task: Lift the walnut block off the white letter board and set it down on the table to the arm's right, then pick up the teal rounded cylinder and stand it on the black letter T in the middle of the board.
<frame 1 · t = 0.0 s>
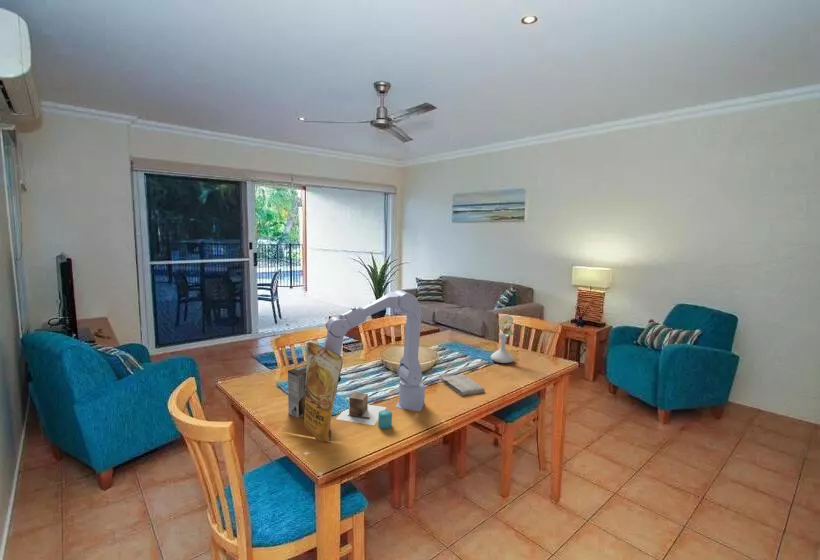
hand: (325, 391, 138), 11 cm above the table, tool pointing down, fingers open, 7 cm apart
teal rounded cylinder: (384, 427, 137), on the table
coffee box: (303, 412, 145), on the table
walnut block: (358, 411, 146), point 1 cm above the table, touching letter mat
washcloth: (461, 387, 174), on the table
flower in vase: (502, 362, 206), on the table
pancake mix bag: (319, 431, 133), on the table
letter mat: (361, 414, 146), on the table
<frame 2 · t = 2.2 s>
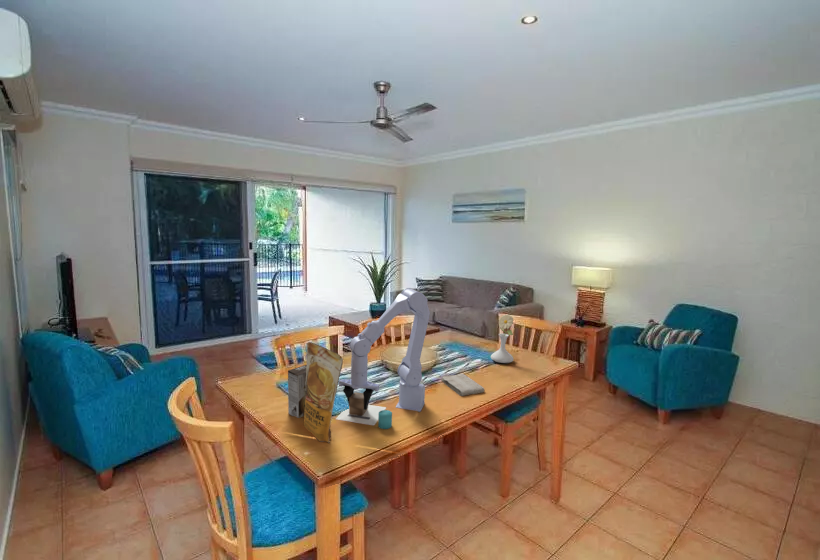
hand: (358, 407, 146), 2 cm above the table, tool pointing down, fingers closed on walnut block, 5 cm apart
walnut block: (358, 411, 146), point 1 cm above the table, touching gripper, letter mat
everything else where it was.
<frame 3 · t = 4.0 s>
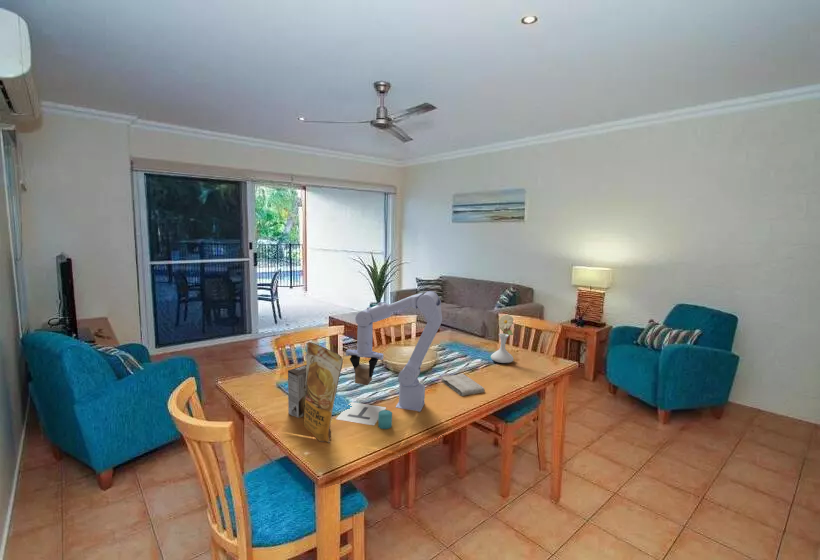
hand: (364, 375, 157), 9 cm above the table, tool pointing down, fingers closed on walnut block, 5 cm apart
walnut block: (363, 381, 157), point 7 cm above the table, touching gripper
everything else where it was.
when the fingers open (3 cm above the table, at t = 5.7 s): walnut block stays where it is, on the table.
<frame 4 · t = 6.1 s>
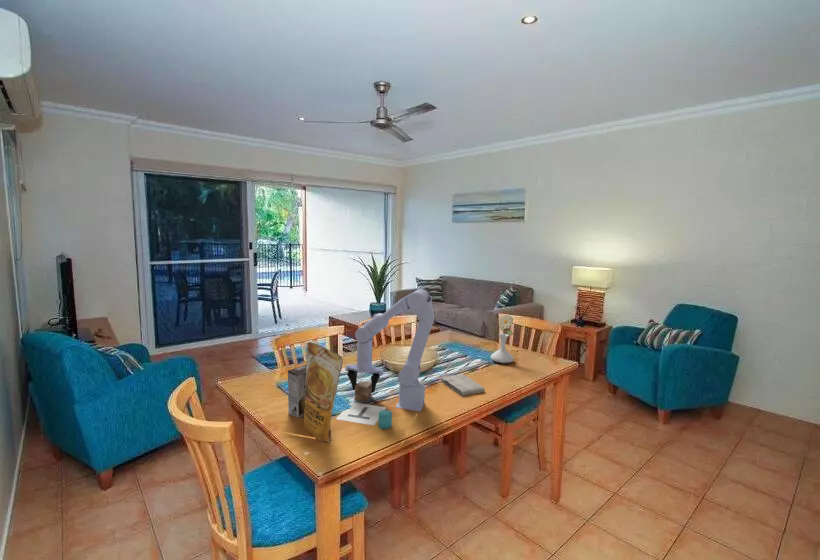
hand: (363, 390, 158), 3 cm above the table, tool pointing down, fingers open, 7 cm apart
walnut block: (363, 399, 158), on the table
everything else where it was.
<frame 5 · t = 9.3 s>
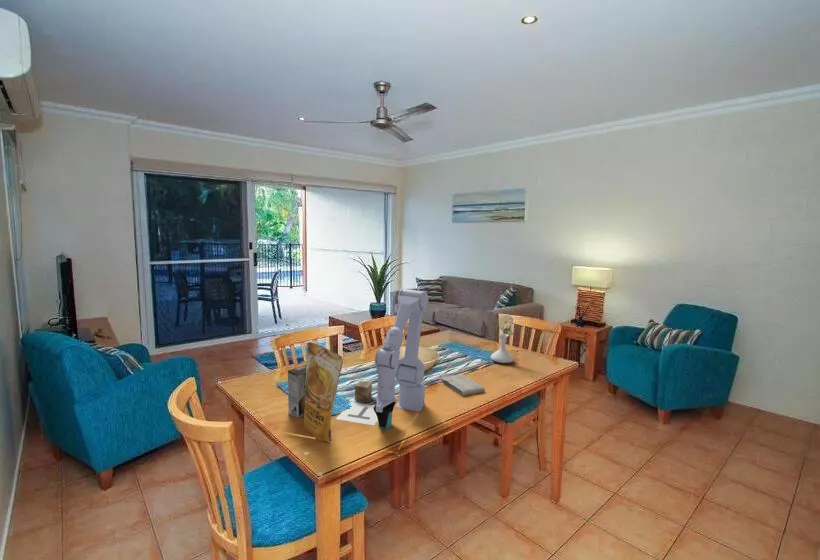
hand: (385, 423, 137), 1 cm above the table, tool pointing down, fingers closed on teal rounded cylinder, 4 cm apart
teal rounded cylinder: (384, 427, 137), on the table, touching gripper
everything else where it was.
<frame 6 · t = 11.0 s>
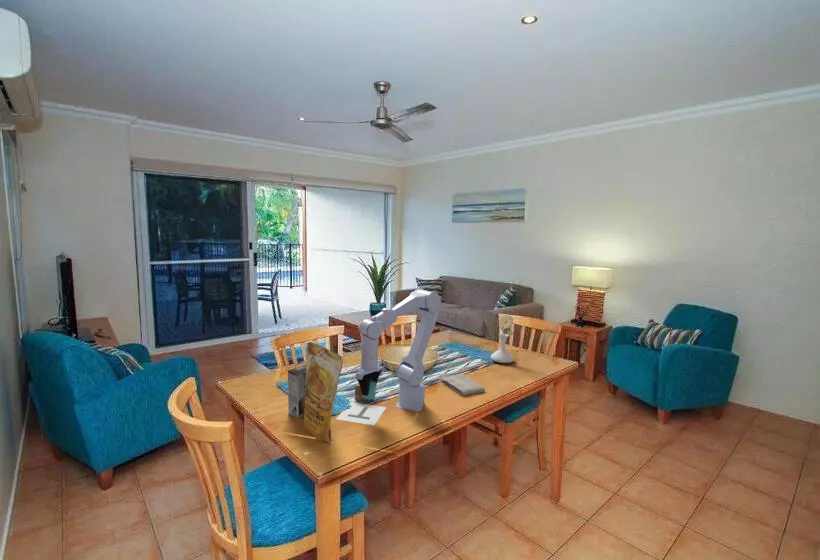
hand: (368, 392, 142), 9 cm above the table, tool pointing down, fingers closed on teal rounded cylinder, 4 cm apart
teal rounded cylinder: (368, 396, 142), point 8 cm above the table, touching gripper
everything else where it was.
when the fingers open (3 cm above the table, at t = 12.9 s): teal rounded cylinder drops 1 cm, resting on letter mat.
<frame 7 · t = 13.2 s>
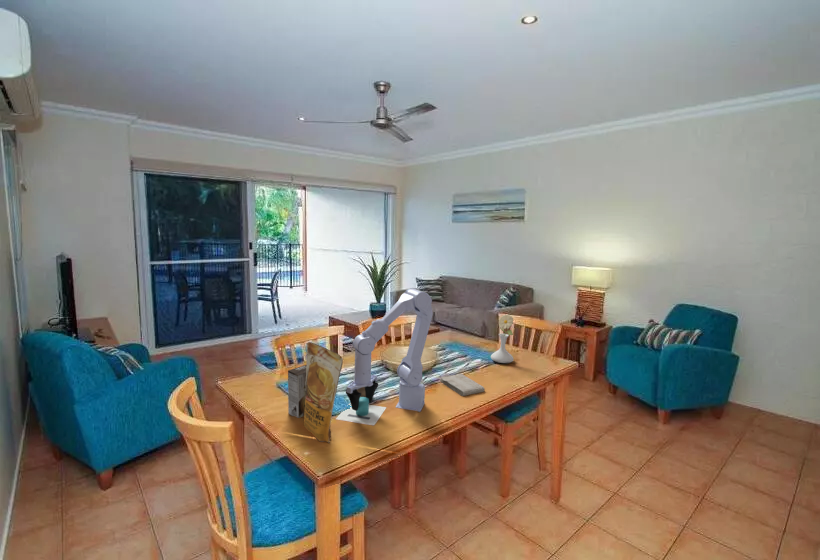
hand: (362, 405, 145), 3 cm above the table, tool pointing down, fingers open, 7 cm apart
teal rounded cylinder: (362, 413, 145), point 1 cm above the table, touching letter mat
everything else where it was.
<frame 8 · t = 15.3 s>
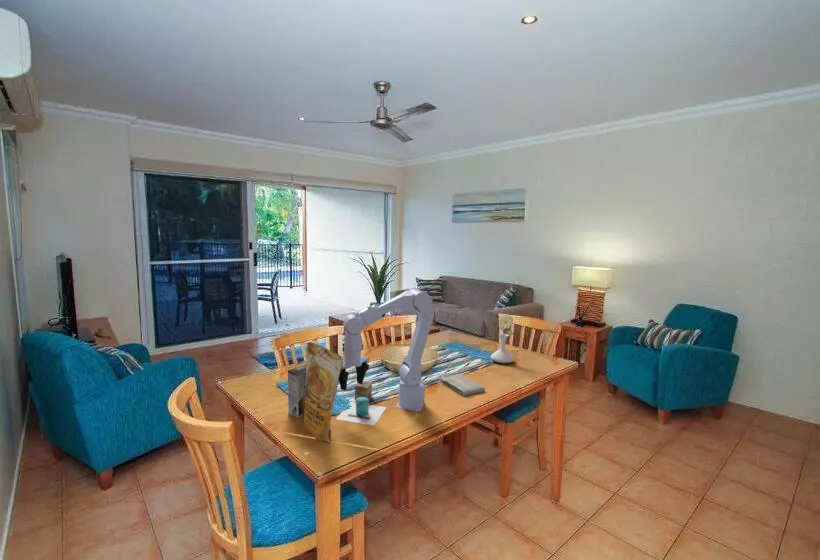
hand: (351, 386, 145), 10 cm above the table, tool pointing down, fingers open, 7 cm apart
nothing on the table moved.
at the end: teal rounded cylinder 0.1 cm off-centre on the letter mat, point 0.5 cm above the letter mat's base; teal rounded cylinder tilted 0°; walnut block touching table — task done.
